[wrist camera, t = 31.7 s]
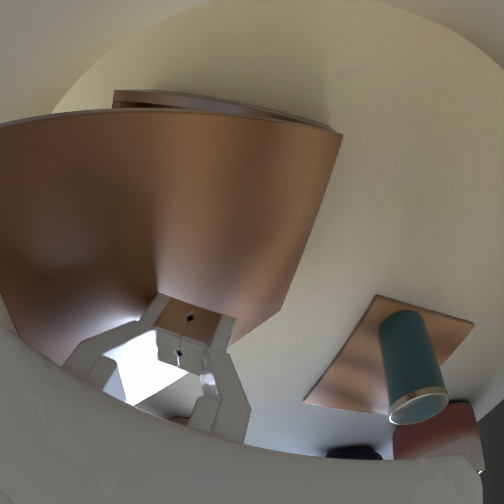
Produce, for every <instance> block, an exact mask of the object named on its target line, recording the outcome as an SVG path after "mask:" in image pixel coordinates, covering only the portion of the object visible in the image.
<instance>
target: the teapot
mask: <svg viewBox="0 0 504 504" xmlns="http://www.w3.org/2000/svg"><path fill="white" fill-rule="evenodd" d="M325 458H336V459H352V460H383V458H382V457H381V455H380V454H378V453H377V452H375V451H374V450H372V449H369V448H347V449H342V450H337V451H334V452H331V453H329V454H328V455H327V456H326V457H325Z"/></svg>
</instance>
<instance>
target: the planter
mask: <svg viewBox="0 0 504 504" xmlns="http://www.w3.org/2000/svg"><path fill="white" fill-rule="evenodd" d="M452 454H462V455H464V456H465V457H466V458H467V459H468V460H469V461H470V463H471V464H472V465H473V467H474V468H475V469H476V471H477V472H478V474H480V473H482V472H483V471H484V469H485V468H484V461H483V454H482V448H481V443H480V437H479V432H478V427H477V423H476V418H475V414H474V411H473V408H472V406H471V404H469V403H466V402H452V403H448V404H447V405H446V407H445V408H444V409H443V410H442V411H440V412H439V413H438V414H436V415H435V416H433V417H431V418H429V419H427V420H424V421H422V422H418V423H415V424H409V425H400V426H399V427H398V428H397V429H396V431H395V432H394V434H393V455H394V460H402V459H418V458H429V457H438V456H445V455H452Z"/></svg>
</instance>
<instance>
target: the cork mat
mask: <svg viewBox="0 0 504 504" xmlns="http://www.w3.org/2000/svg"><path fill="white" fill-rule="evenodd" d="M403 310H412V311H415V312H417V313H419V314H420V315H421V317H422V319H423V321H424V324H425V326H426V329H427V332H428V335H429V338H430V340H431V343H432V346H433V349H434V352H435V355H436V358H437V361H438V365H439V367H440V366H441V365H442V364H443V363H444V362H445V361H446V360H447V358H448V357H449V356H450V355H451V354H452V353H453V352H454V351H455V349H456V348H457V347H458V346H459V345H460V344H461V342H462V341H463V340H464V339H465V338H466V336H467V335H468V334H469V333H470V331H471V330H472V329H473V328H474V326H475V325H474V323H472V322H468V321H465V320H461V319H458V318H454V317H451V316H447V315H444V314H440V313H437V312H433V311H430V310H426V309H423V308H419V307H416V306H413V305H409V304H406V303H402V302H399V301H395V300H392V299H389V298H385V297H382V296H378V295H376V296H375V298H374V300H373V301H372V303H371V305H370V306H369V308H368V309H367V311H366V313H365V314H364V316H363V317H362V319H361V321H360V322H359V324H358V325H357V327H356V328H355V330H354V331H353V333H352V334H351V336H350V337H349V339H348V340H347V342H346V343H345V345H344V346H343V348H342V349H341V350H340V352H339V353H338V355H337V356H336V357H335V359H334V360H333V362H332V363H331V364H330V366H329V367H328V368H327V370H326V371H325V373H324V374H323V375H322V376H321V378H320V379H319V380H318V382H317V383H316V384H315V386H314V387H313V388H312V389H311V391H310V392H309V393H308V394H307V396H306V397H305V398H304V399H303V403H308V404H314V405H319V406H325V407H331V408H337V409H344V410H352V411H359V412H368V413H378V414H389V409H390V408H389V400H388V392H387V385H386V378H385V371H384V365H383V359H382V353H381V348H380V342H379V337H378V330H379V327H380V325H381V324H382V322H383V321H384V320H385V319H386V318H387V317H389V316H390V315H392V314H394V313H396V312H399V311H403Z"/></svg>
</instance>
